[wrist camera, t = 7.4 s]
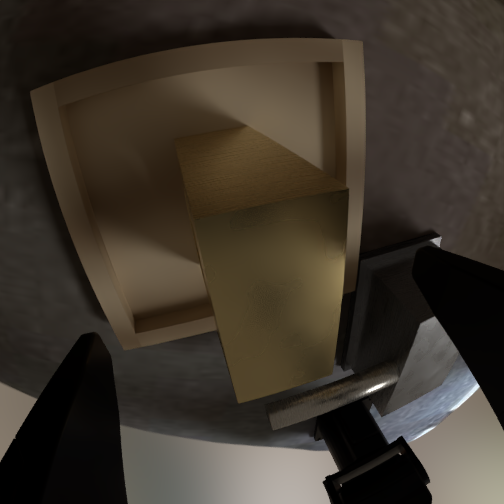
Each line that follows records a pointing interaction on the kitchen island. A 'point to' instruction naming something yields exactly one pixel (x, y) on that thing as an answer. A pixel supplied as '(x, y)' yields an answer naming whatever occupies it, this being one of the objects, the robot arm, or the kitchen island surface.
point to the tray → (167, 168)
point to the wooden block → (266, 255)
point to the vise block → (381, 341)
